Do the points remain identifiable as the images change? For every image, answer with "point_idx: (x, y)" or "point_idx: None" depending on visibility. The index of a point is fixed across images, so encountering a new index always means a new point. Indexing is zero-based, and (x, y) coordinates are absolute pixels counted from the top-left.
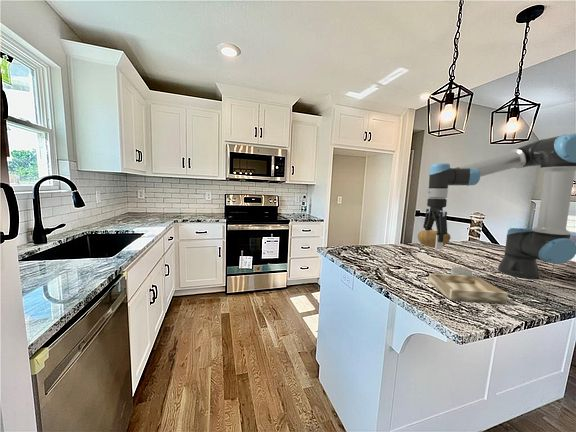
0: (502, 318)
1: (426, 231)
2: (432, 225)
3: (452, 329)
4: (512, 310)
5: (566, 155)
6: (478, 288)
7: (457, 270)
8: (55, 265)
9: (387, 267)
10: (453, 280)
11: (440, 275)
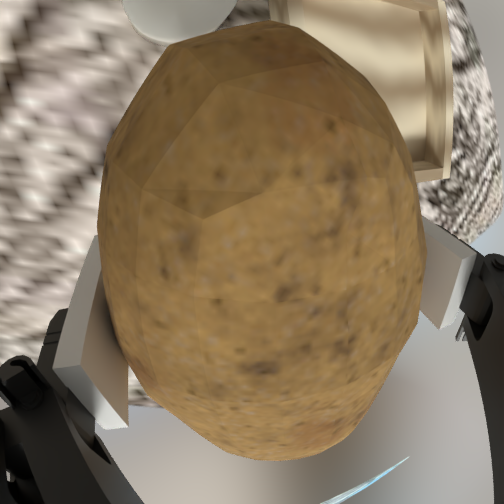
0: (480, 92)
1: (350, 429)
2: (99, 484)
3: (495, 219)
4: (449, 28)
5: None
6: (343, 9)
7: (196, 13)
8: None
9: None
10: None
11: None
